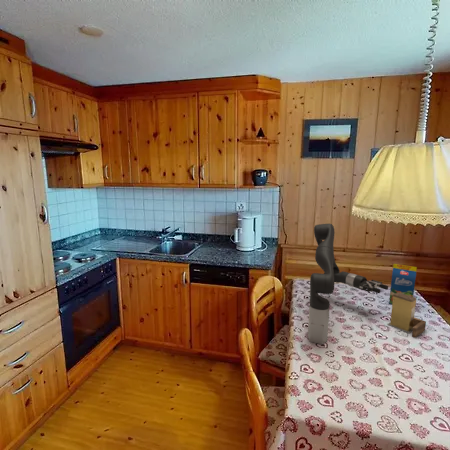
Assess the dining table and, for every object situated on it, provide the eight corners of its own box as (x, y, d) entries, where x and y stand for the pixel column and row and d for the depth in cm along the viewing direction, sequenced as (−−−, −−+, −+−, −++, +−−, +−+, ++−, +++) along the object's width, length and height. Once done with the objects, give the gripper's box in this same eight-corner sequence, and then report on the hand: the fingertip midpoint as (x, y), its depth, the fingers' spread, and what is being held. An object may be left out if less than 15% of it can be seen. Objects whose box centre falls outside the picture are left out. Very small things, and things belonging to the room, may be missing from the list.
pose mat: (387, 324, 161) (387, 324, 161) (393, 320, 165) (393, 320, 165) (409, 333, 152) (409, 333, 152) (415, 329, 156) (415, 328, 156)
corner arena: (383, 324, 161) (384, 316, 160) (393, 318, 167) (394, 310, 166) (415, 337, 148) (416, 328, 147) (424, 330, 155) (426, 321, 154)
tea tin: (390, 324, 161) (393, 294, 157) (394, 321, 163) (398, 292, 160) (408, 331, 153) (412, 300, 150) (413, 328, 156) (416, 298, 153)
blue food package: (411, 309, 179) (416, 268, 174) (388, 304, 185) (393, 265, 180) (412, 305, 184) (417, 265, 179) (390, 300, 190) (394, 262, 185)
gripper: (349, 277, 171) (378, 286, 159) (363, 272, 180) (391, 280, 167) (348, 289, 173) (376, 299, 160) (362, 284, 181) (389, 293, 168)
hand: (384, 289), depth 163 cm, fingers open, 8 cm apart
